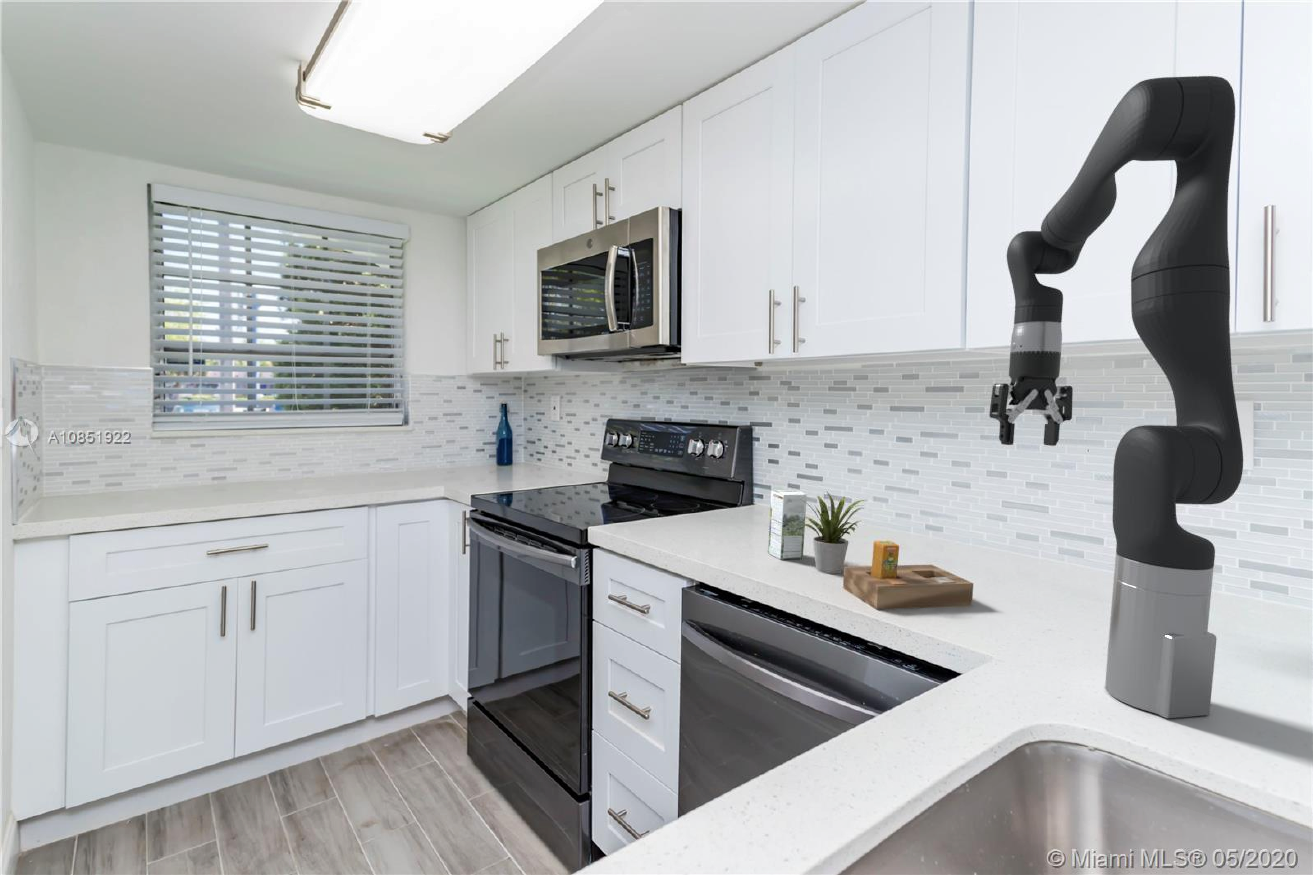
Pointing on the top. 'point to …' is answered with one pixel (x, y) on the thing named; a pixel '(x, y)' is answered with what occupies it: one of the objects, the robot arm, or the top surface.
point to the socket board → (909, 587)
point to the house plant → (831, 536)
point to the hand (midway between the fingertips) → (1028, 445)
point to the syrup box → (787, 524)
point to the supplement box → (885, 560)
